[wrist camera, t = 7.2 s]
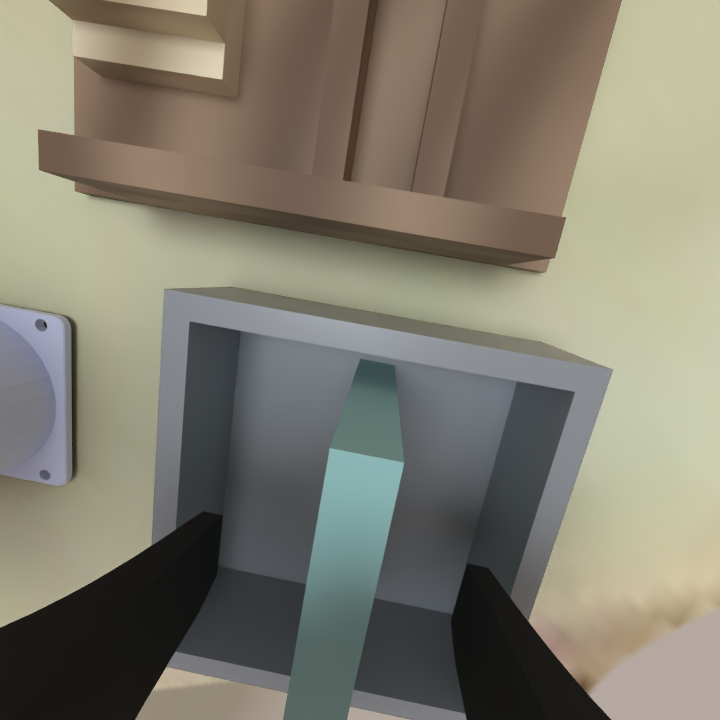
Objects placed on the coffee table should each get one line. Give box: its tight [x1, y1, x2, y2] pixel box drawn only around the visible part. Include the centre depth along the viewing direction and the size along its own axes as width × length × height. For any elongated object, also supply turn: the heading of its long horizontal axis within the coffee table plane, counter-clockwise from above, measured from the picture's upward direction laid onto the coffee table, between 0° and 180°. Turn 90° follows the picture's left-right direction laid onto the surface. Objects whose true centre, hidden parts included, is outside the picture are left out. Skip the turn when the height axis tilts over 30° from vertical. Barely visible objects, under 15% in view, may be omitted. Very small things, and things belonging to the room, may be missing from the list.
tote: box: [152, 287, 613, 720], centre depth 14 cm, size 13×14×4 cm
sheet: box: [283, 359, 404, 720], centre depth 12 cm, size 1×10×8 cm, turn 170°
